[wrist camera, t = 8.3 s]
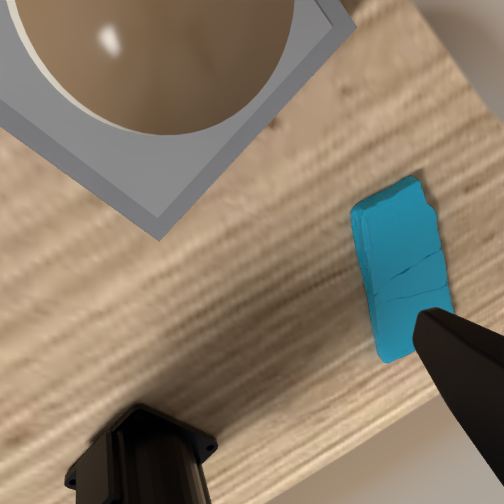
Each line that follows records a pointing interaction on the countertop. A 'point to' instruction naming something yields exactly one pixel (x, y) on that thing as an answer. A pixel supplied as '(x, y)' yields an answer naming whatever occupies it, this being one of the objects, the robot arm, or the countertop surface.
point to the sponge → (399, 263)
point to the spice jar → (155, 56)
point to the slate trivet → (148, 146)
